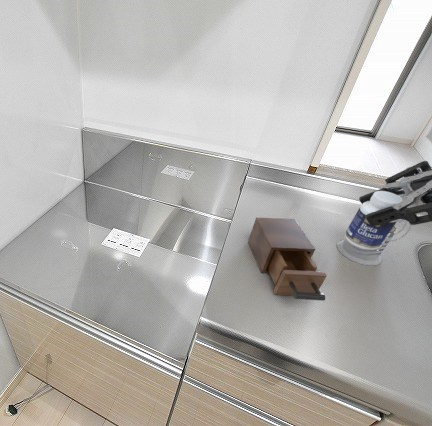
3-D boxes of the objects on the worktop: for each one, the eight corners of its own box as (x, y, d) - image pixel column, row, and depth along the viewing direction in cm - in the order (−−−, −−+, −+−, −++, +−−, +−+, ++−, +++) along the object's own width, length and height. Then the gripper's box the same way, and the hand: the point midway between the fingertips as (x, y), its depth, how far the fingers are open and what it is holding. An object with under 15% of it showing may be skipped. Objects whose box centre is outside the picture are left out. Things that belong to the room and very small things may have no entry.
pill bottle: (347, 246, 53) (373, 201, 48) (341, 229, 57) (364, 186, 52) (383, 253, 52) (415, 208, 46) (374, 235, 56) (402, 191, 50)
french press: (330, 237, 82) (376, 155, 67) (377, 242, 80) (435, 159, 65) (345, 262, 74) (400, 175, 60) (398, 269, 72) (468, 180, 58)
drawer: (324, 313, 62) (338, 292, 58) (282, 310, 62) (293, 289, 58) (295, 262, 73) (305, 242, 69) (260, 261, 74) (268, 241, 70)
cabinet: (302, 275, 71) (315, 249, 66) (261, 273, 72) (271, 247, 67) (283, 243, 81) (294, 218, 76) (247, 242, 81) (256, 217, 76)
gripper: (474, 123, 45) (347, 177, 56) (532, 161, 34) (361, 218, 46) (496, 160, 46) (367, 206, 57) (558, 208, 36) (385, 252, 47)
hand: (365, 211), depth 51 cm, fingers closed on pill bottle, 5 cm apart
